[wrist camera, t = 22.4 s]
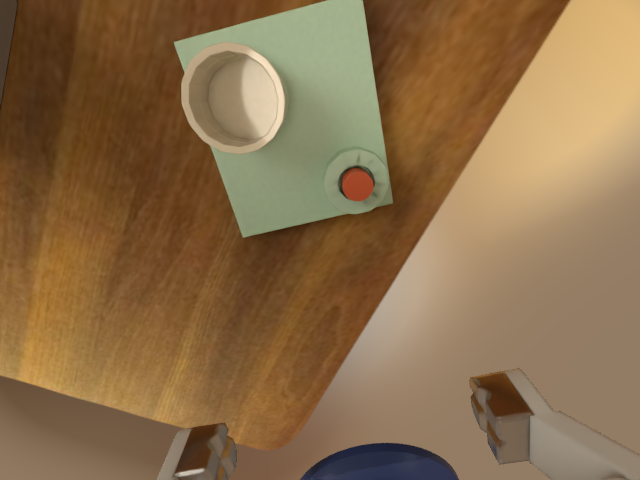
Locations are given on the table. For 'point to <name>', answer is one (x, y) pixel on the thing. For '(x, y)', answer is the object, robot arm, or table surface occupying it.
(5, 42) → the alarm clock
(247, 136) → the beige cup
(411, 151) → the table surface
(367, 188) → the button
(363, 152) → the scale
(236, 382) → the table surface
